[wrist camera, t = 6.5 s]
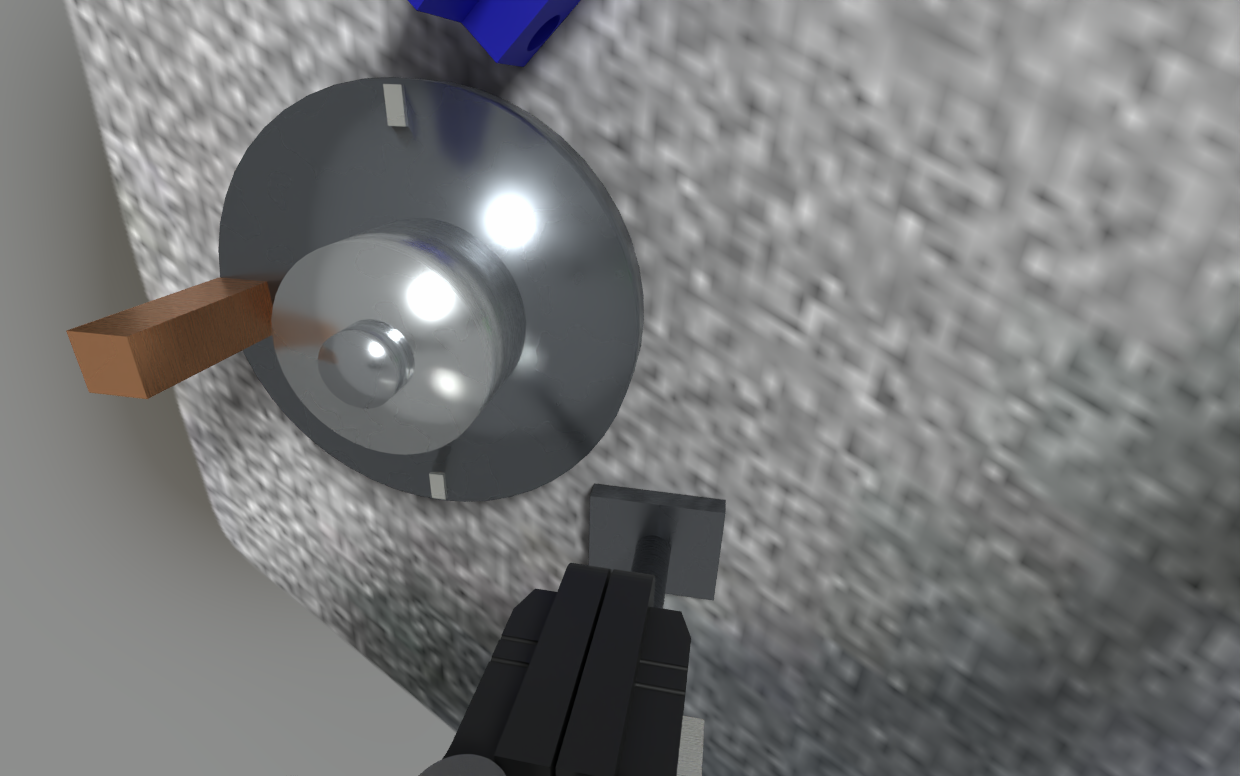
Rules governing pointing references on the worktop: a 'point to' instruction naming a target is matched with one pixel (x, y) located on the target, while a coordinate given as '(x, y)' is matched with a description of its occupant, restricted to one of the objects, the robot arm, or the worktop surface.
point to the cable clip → (504, 23)
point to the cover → (399, 333)
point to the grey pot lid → (393, 190)
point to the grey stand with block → (661, 559)
